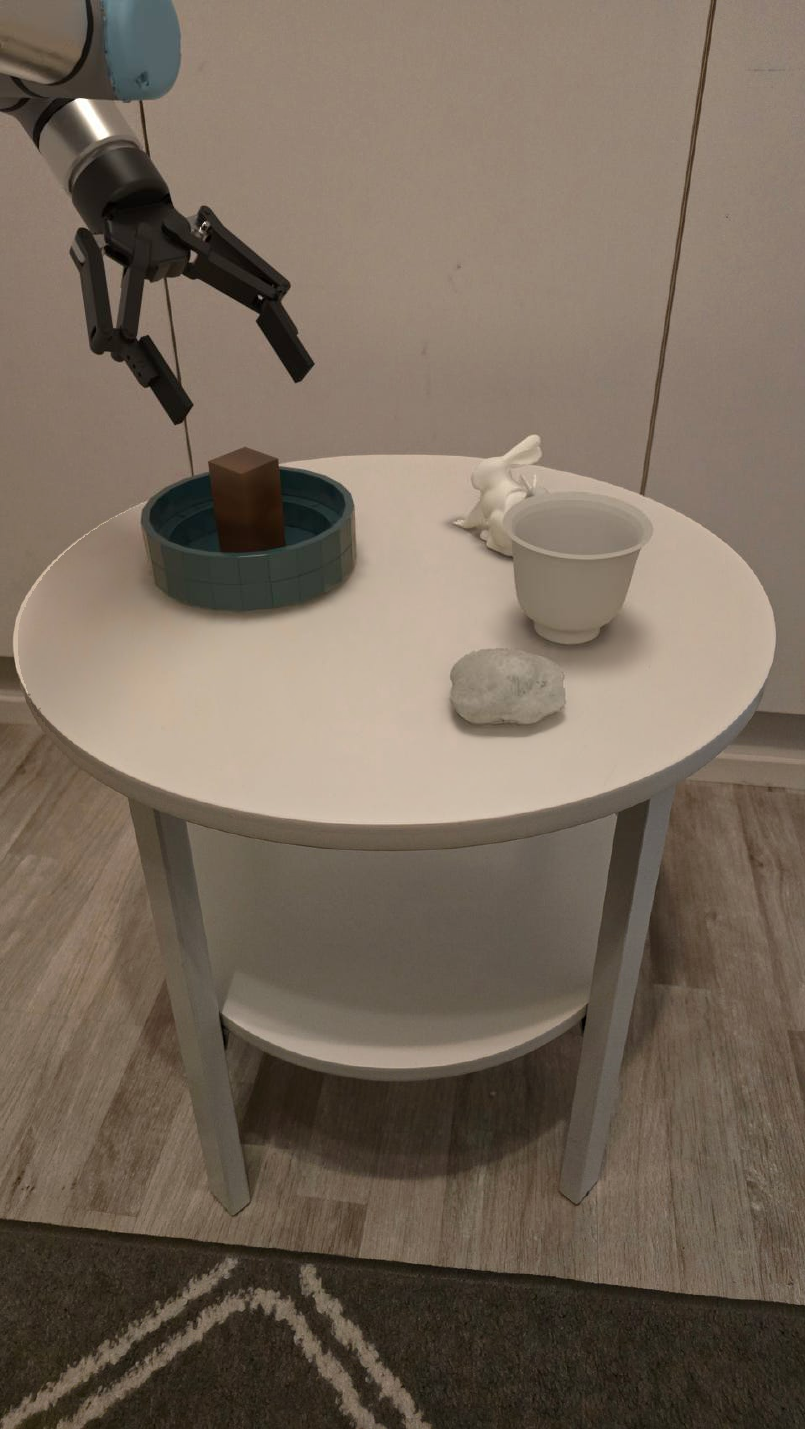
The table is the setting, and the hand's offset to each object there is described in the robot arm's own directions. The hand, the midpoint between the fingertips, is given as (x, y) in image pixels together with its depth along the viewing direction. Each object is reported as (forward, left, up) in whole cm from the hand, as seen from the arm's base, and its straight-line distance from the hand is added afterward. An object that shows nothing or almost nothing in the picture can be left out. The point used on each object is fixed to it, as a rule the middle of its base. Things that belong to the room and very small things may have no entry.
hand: (247, 394), depth 83 cm
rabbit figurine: (+25, +3, -17) cm, 31 cm away
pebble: (+17, -25, -17) cm, 35 cm away
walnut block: (-1, +2, -17) cm, 17 cm away
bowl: (-1, +2, -17) cm, 17 cm away
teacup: (+25, -13, -17) cm, 33 cm away
